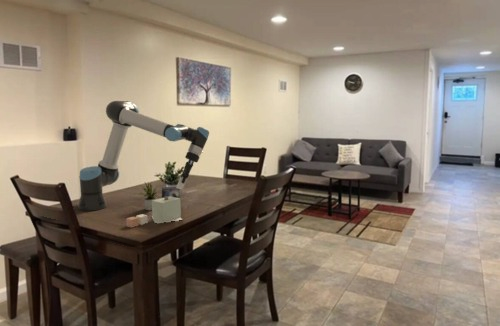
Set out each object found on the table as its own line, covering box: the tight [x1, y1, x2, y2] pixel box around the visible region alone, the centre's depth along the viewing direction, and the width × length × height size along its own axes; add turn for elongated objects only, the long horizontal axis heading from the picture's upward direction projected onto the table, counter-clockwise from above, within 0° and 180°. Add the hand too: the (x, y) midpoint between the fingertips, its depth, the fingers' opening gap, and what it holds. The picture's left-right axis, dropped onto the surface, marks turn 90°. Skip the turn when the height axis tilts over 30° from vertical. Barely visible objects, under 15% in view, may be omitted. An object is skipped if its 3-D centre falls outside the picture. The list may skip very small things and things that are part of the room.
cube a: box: [135, 213, 148, 226], centre depth 184 cm, size 4×4×4 cm
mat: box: [151, 216, 183, 224], centre depth 192 cm, size 14×13×1 cm
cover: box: [151, 196, 182, 222], centre depth 191 cm, size 12×8×11 cm
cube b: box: [125, 216, 139, 228], centre depth 179 cm, size 4×4×4 cm
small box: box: [161, 186, 181, 199], centre depth 220 cm, size 11×6×10 cm, turn 106°
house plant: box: [138, 181, 159, 211], centre depth 210 cm, size 14×14×16 cm
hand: (179, 188), depth 201 cm, fingers open, 13 cm apart
